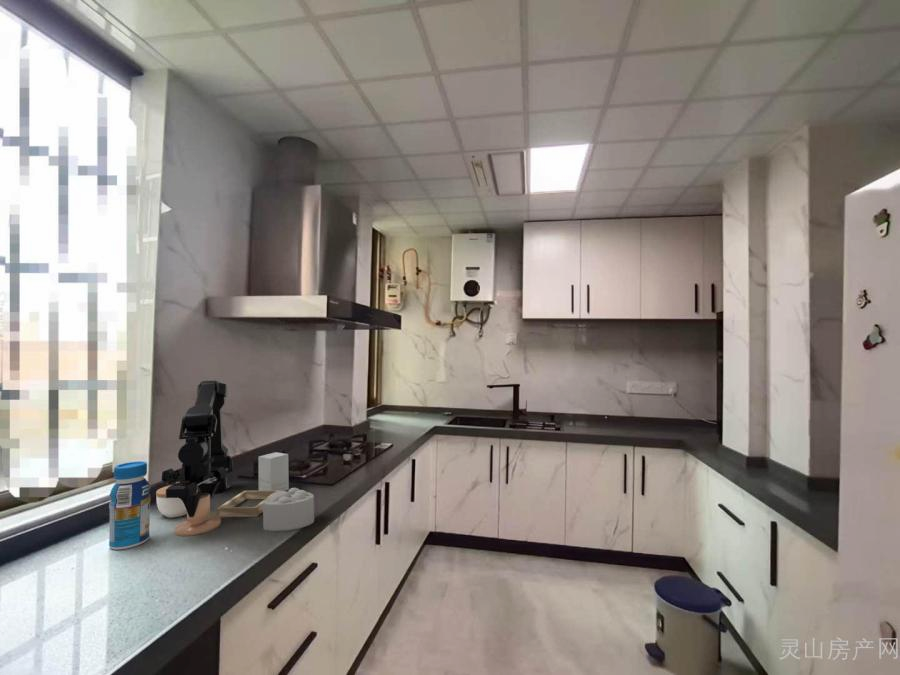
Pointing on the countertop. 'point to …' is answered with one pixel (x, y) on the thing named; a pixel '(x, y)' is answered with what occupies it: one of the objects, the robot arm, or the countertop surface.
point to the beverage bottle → (129, 506)
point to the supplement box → (273, 472)
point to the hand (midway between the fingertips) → (198, 512)
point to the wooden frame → (232, 511)
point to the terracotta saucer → (197, 526)
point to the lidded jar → (170, 504)
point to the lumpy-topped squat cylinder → (288, 510)
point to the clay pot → (201, 509)
